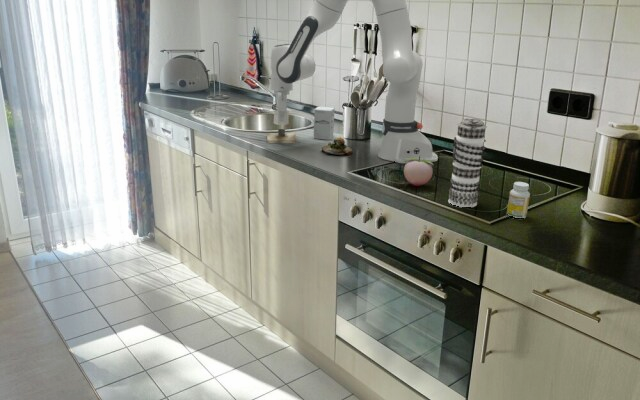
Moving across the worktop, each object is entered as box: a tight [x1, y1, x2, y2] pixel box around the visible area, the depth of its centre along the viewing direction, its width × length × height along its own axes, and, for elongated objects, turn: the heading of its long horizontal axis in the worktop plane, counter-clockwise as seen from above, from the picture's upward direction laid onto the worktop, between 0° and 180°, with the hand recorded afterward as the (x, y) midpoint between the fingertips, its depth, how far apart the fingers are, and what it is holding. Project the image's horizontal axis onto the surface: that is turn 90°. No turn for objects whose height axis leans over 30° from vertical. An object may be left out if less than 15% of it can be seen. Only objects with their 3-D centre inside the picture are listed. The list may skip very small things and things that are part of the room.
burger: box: [321, 136, 353, 157], centre depth 216 cm, size 12×12×8 cm
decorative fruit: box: [403, 156, 435, 187], centre depth 179 cm, size 9×8×10 cm
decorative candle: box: [447, 118, 488, 208], centre depth 164 cm, size 9×9×25 cm
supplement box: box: [313, 106, 336, 141], centre depth 237 cm, size 7×7×13 cm
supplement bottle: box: [506, 181, 531, 219], centre depth 157 cm, size 5×5×10 cm
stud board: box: [266, 128, 298, 144], centre depth 233 cm, size 12×12×4 cm
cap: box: [273, 109, 290, 126], centre depth 231 cm, size 6×6×5 cm
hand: (281, 119), depth 231 cm, fingers closed on cap, 6 cm apart
